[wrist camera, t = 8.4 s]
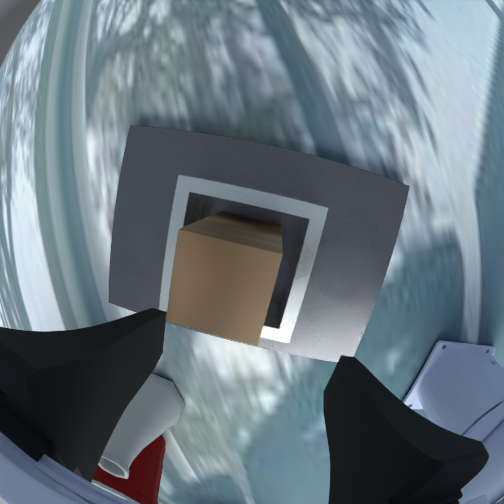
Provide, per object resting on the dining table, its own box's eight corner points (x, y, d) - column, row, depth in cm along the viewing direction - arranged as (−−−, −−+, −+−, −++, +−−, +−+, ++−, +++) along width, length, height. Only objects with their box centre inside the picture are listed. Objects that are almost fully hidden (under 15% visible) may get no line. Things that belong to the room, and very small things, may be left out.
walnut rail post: (281, 225, 18) (282, 254, 10) (266, 282, 19) (257, 345, 11) (221, 210, 18) (178, 229, 10) (209, 268, 19) (166, 320, 11)
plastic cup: (206, 454, 26) (182, 537, 14) (148, 463, 28) (118, 527, 16) (141, 394, 24) (88, 479, 12) (91, 411, 26) (44, 473, 15)
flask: (113, 360, 23) (58, 424, 14) (181, 374, 23) (139, 457, 13) (129, 411, 25) (89, 473, 15) (190, 425, 24) (161, 499, 15)
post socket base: (403, 185, 17) (434, 187, 13) (347, 357, 21) (358, 391, 16) (136, 127, 18) (103, 116, 14) (114, 297, 22) (85, 319, 17)
